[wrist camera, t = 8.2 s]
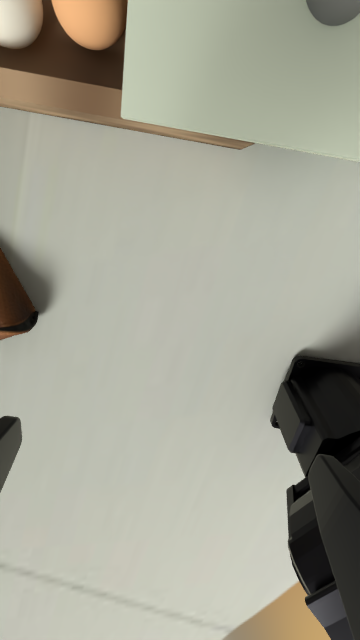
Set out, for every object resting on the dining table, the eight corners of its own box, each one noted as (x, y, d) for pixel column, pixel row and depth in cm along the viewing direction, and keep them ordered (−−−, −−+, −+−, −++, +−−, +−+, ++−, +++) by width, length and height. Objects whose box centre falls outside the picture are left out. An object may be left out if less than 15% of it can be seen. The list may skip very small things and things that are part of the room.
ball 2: (136, -22, 13) (124, -72, 10) (130, 66, 14) (118, 41, 12) (65, -37, 13) (33, -93, 10) (65, 53, 14) (37, 25, 11)
